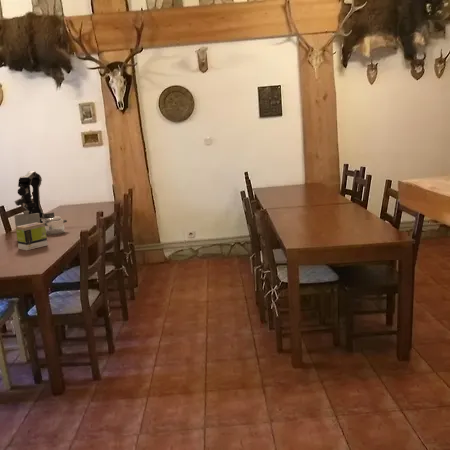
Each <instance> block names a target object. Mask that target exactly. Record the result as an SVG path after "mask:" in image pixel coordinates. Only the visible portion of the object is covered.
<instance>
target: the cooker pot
mask: <svg viewBox="0 0 450 450" xmlns="http://www.w3.org/2000/svg"><path fill="white" fill-rule="evenodd" d="M43 223H44V224H45V229H46V236H50V235H51V236H54V235H61V234H65V232H66V231H65V223H68V220H67V219H63V218H61V219H60V220H56V221H43Z"/></svg>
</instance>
